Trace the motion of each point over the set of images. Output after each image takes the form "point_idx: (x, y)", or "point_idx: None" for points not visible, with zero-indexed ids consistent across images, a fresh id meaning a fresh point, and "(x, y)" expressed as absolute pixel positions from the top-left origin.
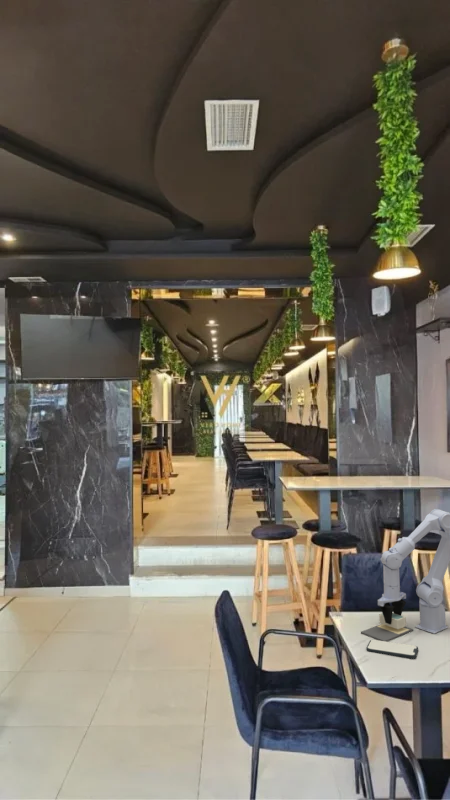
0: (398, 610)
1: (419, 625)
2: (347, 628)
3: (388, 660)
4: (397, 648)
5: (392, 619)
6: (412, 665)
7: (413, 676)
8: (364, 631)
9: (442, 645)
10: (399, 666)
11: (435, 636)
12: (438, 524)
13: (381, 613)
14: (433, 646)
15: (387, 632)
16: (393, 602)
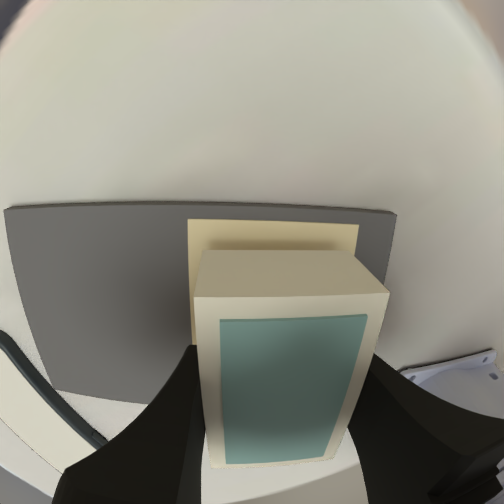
0: (368, 447)
1: (421, 380)
2: (10, 75)
3: (3, 430)
4: (56, 450)
5: (206, 432)
6: (55, 476)
7: (29, 478)
8: (24, 223)
9: (267, 493)
10: (18, 455)
11: (340, 456)
12: None
13: (247, 299)
14: (230, 488)
15: (155, 348)
16: (424, 471)
